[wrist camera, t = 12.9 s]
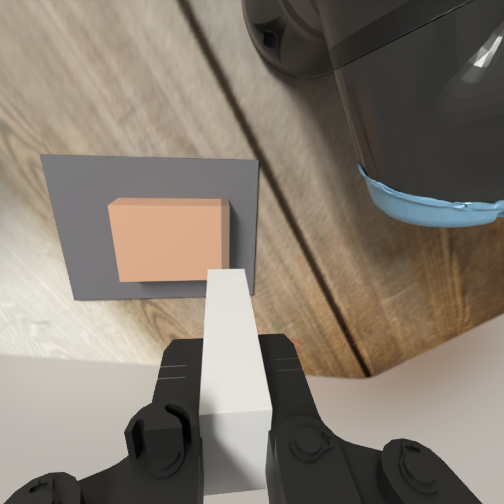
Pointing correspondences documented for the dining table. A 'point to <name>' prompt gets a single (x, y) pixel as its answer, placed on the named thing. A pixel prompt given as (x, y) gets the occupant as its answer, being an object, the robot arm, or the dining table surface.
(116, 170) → the mat
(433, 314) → the dining table surface
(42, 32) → the dining table surface
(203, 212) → the pink rectangular block
